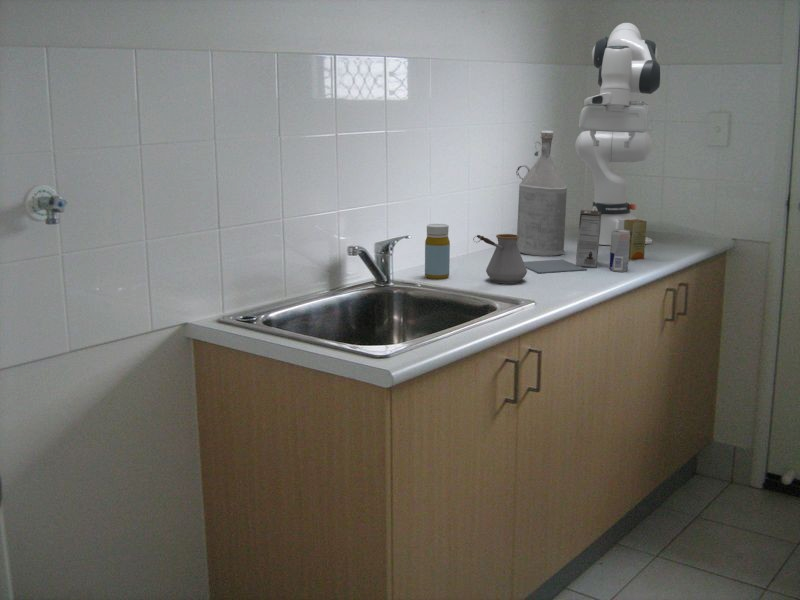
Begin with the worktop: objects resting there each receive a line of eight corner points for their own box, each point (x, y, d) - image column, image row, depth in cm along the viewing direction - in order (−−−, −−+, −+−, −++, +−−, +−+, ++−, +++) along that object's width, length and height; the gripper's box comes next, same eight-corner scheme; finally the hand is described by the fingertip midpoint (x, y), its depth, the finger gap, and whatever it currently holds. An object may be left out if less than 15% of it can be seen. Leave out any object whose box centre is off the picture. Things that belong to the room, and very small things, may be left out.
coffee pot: (500, 274, 258) (501, 223, 255) (534, 280, 251) (536, 227, 248) (457, 287, 242) (458, 233, 239) (492, 293, 235) (494, 237, 232)
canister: (522, 247, 303) (526, 129, 293) (570, 252, 294) (576, 130, 284) (506, 252, 292) (510, 130, 283) (555, 258, 283) (561, 132, 274)
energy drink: (615, 267, 268) (617, 228, 266) (631, 270, 265) (633, 230, 262) (605, 270, 265) (608, 230, 262) (621, 272, 261) (623, 232, 258)
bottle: (420, 275, 257) (421, 224, 253) (442, 273, 259) (443, 223, 256) (431, 280, 251) (431, 227, 247) (453, 278, 253) (454, 226, 250)
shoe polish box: (630, 259, 281) (633, 222, 278) (621, 256, 286) (624, 219, 283) (643, 258, 283) (646, 221, 280) (635, 256, 287) (637, 219, 284)
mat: (562, 260, 279) (562, 259, 279) (587, 270, 264) (587, 269, 264) (515, 263, 275) (515, 262, 275) (538, 273, 260) (538, 272, 260)
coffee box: (575, 260, 278) (580, 209, 274) (596, 262, 277) (601, 211, 273) (575, 265, 269) (580, 213, 266) (596, 267, 268) (602, 214, 264)
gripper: (646, 102, 269) (642, 148, 271) (579, 100, 269) (576, 146, 271) (652, 100, 263) (648, 147, 265) (583, 97, 263) (580, 145, 264)
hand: (611, 147), depth 268 cm, fingers open, 8 cm apart
